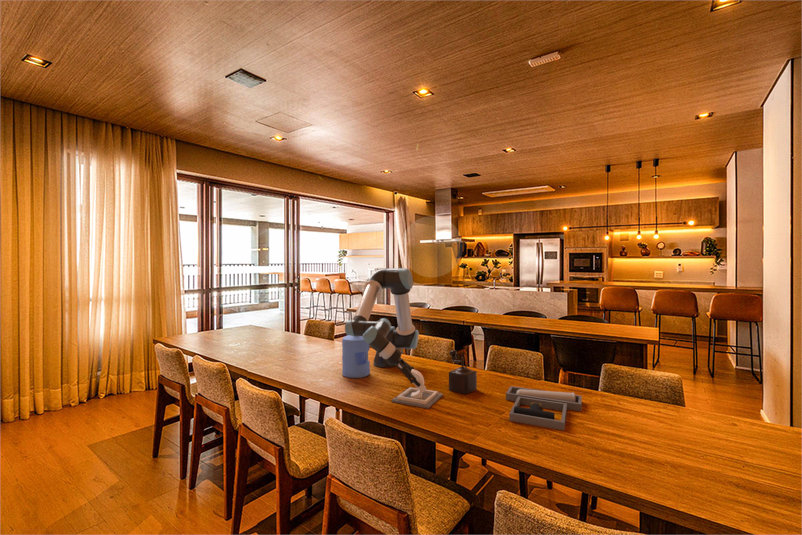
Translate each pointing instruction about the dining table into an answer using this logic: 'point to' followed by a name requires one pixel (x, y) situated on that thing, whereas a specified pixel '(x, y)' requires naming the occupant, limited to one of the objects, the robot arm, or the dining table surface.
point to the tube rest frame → (570, 405)
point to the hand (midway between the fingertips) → (422, 385)
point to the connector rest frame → (538, 420)
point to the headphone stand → (419, 393)
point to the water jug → (355, 357)
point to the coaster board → (424, 402)
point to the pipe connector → (535, 411)
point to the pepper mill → (462, 377)
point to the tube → (548, 394)
